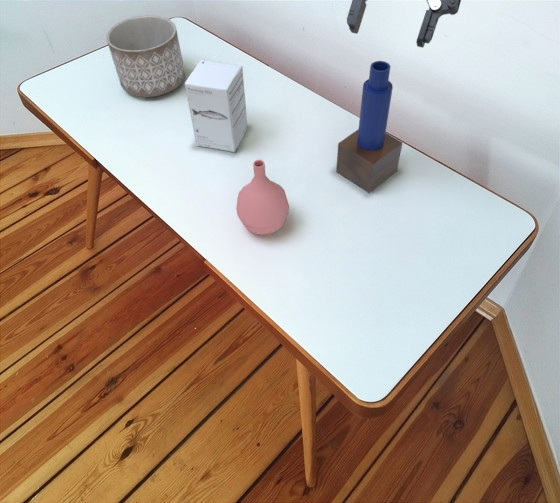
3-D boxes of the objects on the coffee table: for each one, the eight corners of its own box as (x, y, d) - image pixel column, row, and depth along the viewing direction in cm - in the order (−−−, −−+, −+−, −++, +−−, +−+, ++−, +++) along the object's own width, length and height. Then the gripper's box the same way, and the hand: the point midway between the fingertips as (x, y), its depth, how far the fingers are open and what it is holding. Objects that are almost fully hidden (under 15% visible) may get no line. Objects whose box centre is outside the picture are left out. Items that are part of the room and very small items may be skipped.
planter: (187, 62, 106) (178, 13, 98) (184, 99, 98) (173, 48, 90) (126, 66, 106) (111, 17, 98) (118, 103, 98) (101, 53, 90)
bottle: (389, 142, 79) (401, 66, 69) (371, 154, 78) (382, 78, 67) (369, 130, 81) (378, 54, 71) (351, 142, 80) (359, 66, 69)
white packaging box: (195, 147, 89) (182, 83, 79) (211, 121, 94) (200, 57, 84) (235, 154, 88) (226, 89, 78) (249, 127, 92) (243, 63, 82)
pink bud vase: (248, 249, 75) (240, 190, 65) (231, 214, 79) (222, 153, 70) (297, 233, 76) (296, 173, 67) (278, 199, 81) (275, 138, 71)
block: (397, 171, 84) (402, 142, 79) (369, 193, 81) (373, 164, 76) (364, 151, 87) (367, 122, 82) (336, 171, 84) (338, 143, 80)
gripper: (366, -128, 59) (324, 16, 62) (493, -115, 55) (442, 39, 57) (377, -91, 66) (338, 37, 69) (490, -77, 62) (444, 59, 65)
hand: (385, 38), depth 63 cm, fingers open, 8 cm apart
